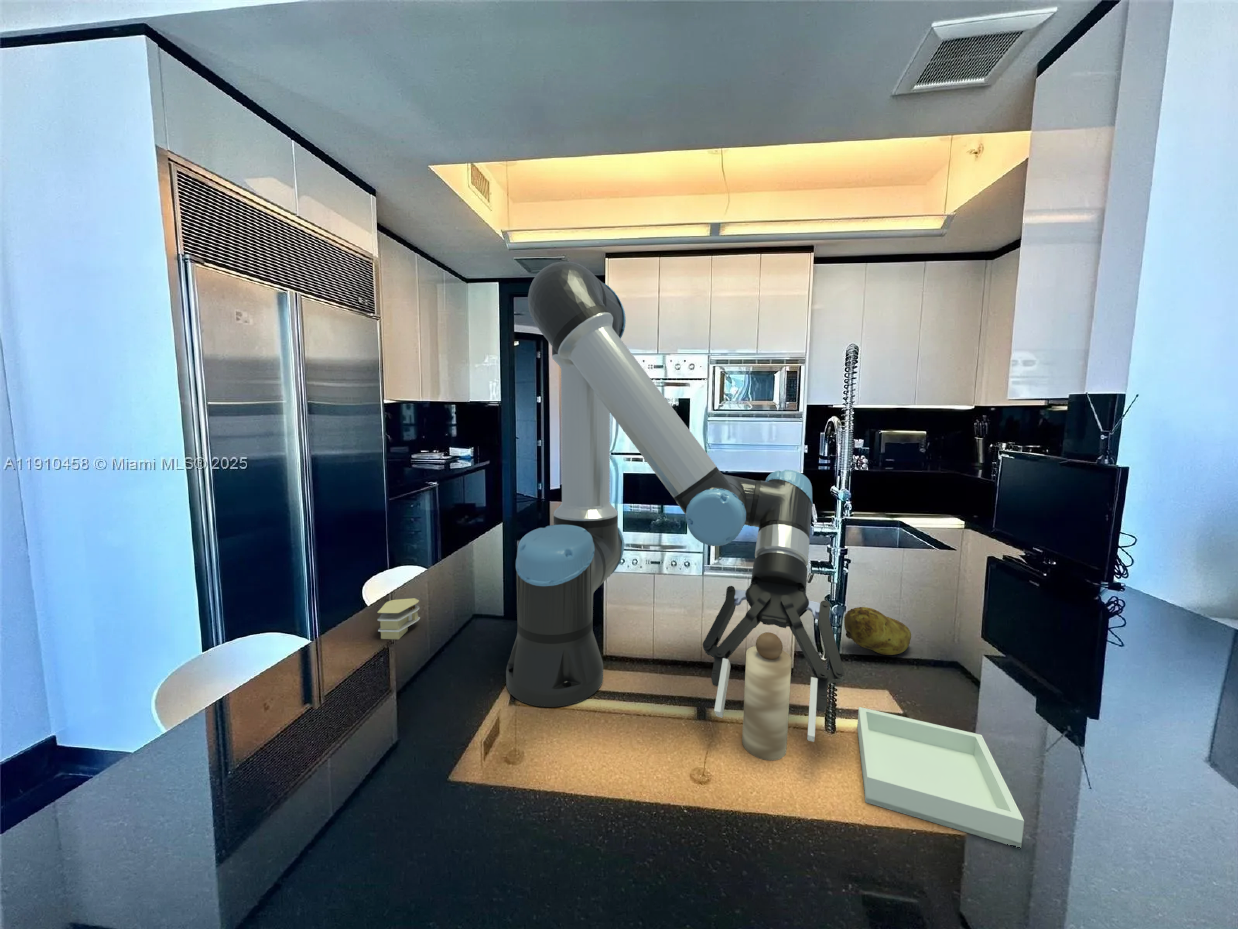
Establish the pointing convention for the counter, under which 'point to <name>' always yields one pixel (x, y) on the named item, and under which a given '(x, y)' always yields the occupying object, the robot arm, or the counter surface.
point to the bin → (936, 776)
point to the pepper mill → (766, 698)
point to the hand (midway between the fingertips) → (763, 726)
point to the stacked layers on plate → (397, 617)
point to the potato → (876, 631)
